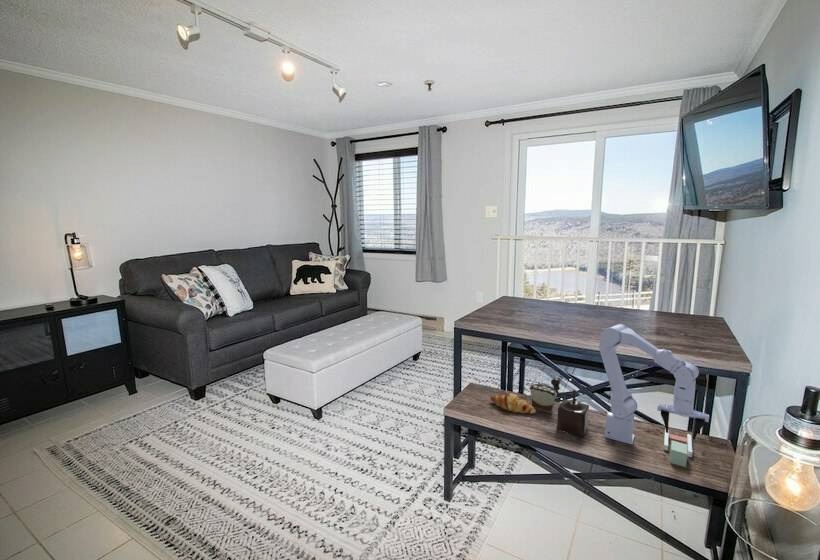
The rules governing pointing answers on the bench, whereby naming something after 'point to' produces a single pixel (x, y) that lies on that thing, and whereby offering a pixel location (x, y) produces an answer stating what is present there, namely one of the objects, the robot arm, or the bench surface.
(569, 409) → the manual coffee grinder
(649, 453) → the bench surface
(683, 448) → the block
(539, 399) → the food container
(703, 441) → the bench surface
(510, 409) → the croissant
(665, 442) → the channel
